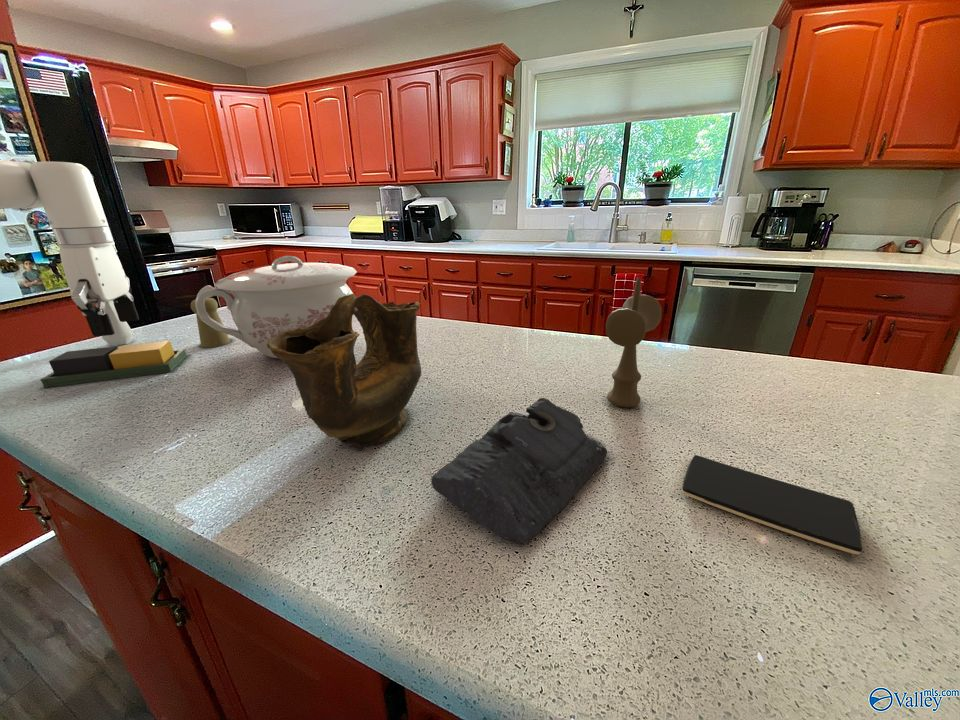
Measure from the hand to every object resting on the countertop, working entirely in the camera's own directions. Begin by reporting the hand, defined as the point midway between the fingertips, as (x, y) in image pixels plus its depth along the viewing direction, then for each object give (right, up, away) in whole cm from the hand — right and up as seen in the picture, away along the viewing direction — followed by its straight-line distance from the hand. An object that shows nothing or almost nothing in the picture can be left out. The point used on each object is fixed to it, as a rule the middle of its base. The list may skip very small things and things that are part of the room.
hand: (117, 327), depth 78 cm
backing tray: (-2, -9, +3) cm, 9 cm away
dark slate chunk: (+77, -20, -30) cm, 85 cm away
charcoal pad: (-6, -9, +1) cm, 11 cm away
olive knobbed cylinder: (+8, -3, +17) cm, 19 cm away
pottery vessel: (+56, -17, -20) cm, 61 cm away
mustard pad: (+3, -8, +4) cm, 9 cm away
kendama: (+95, -13, -15) cm, 97 cm away
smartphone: (+102, -22, -36) cm, 110 cm away
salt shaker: (-17, -2, +19) cm, 26 cm away
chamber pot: (+32, -4, +12) cm, 34 cm away
